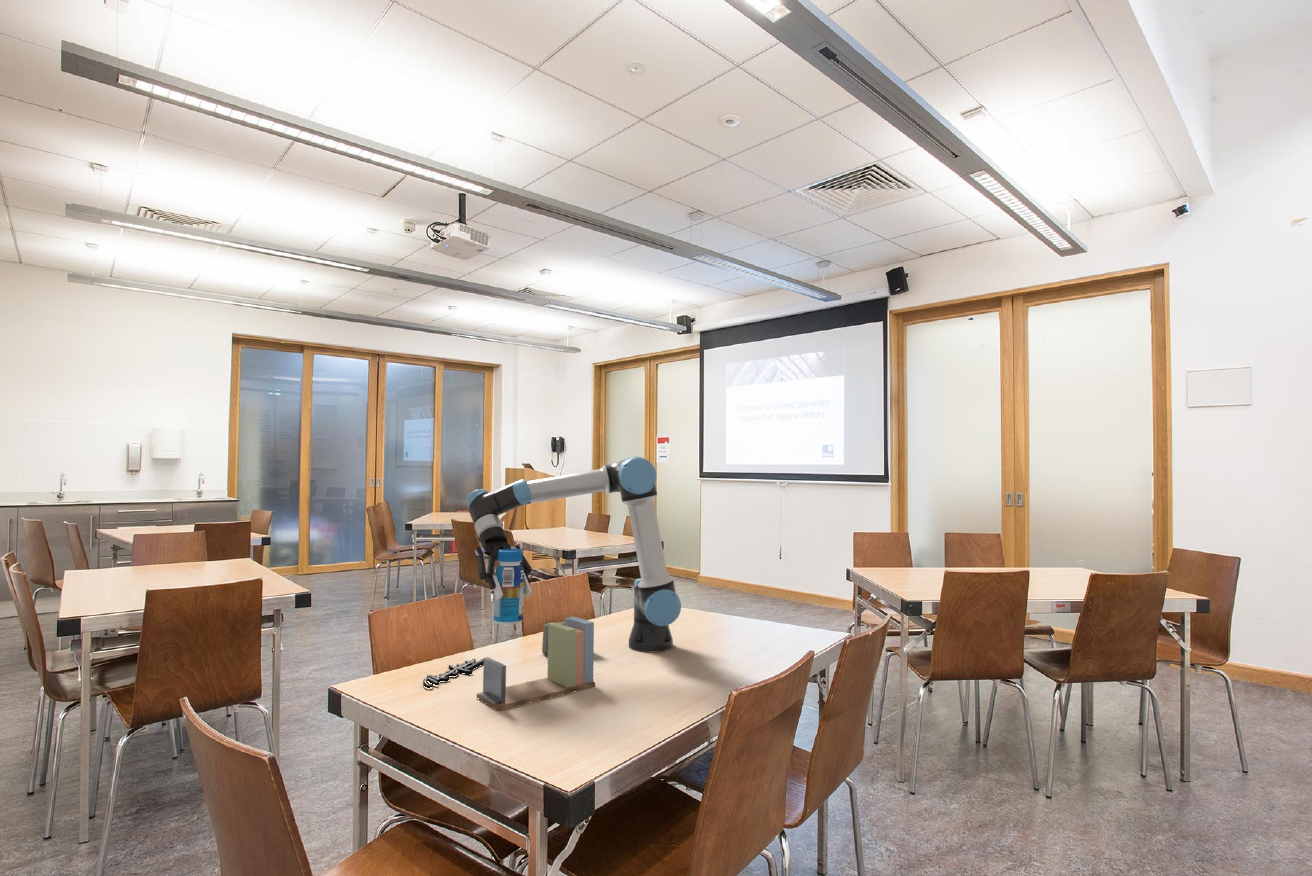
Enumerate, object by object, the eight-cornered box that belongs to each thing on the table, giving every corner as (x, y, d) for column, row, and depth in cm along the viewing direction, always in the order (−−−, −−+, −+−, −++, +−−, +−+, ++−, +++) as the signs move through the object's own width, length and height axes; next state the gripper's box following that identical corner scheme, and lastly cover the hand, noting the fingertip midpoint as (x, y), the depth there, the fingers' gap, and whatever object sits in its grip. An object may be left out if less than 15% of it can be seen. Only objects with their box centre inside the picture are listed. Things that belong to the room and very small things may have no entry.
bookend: (487, 692, 167) (488, 657, 168) (505, 702, 159) (506, 665, 160) (478, 694, 165) (479, 658, 166) (496, 704, 158) (496, 667, 158)
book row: (573, 673, 184) (573, 616, 185) (593, 681, 177) (593, 622, 178) (547, 678, 179) (548, 620, 180) (567, 687, 171) (567, 626, 172)
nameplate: (442, 686, 172) (410, 683, 174) (442, 692, 172) (409, 689, 174) (493, 659, 198) (464, 656, 201) (493, 664, 198) (464, 661, 201)
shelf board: (571, 676, 185) (571, 672, 185) (595, 686, 176) (595, 682, 176) (476, 698, 166) (476, 693, 166) (497, 711, 157) (497, 706, 157)
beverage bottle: (486, 622, 179) (488, 550, 180) (509, 617, 186) (511, 547, 187) (507, 626, 174) (509, 552, 176) (530, 621, 181) (532, 549, 183)
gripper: (518, 540, 200) (543, 600, 187) (453, 543, 187) (474, 608, 173) (527, 524, 196) (552, 584, 183) (461, 526, 183) (483, 591, 170)
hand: (514, 596), depth 178 cm, fingers closed on beverage bottle, 8 cm apart
